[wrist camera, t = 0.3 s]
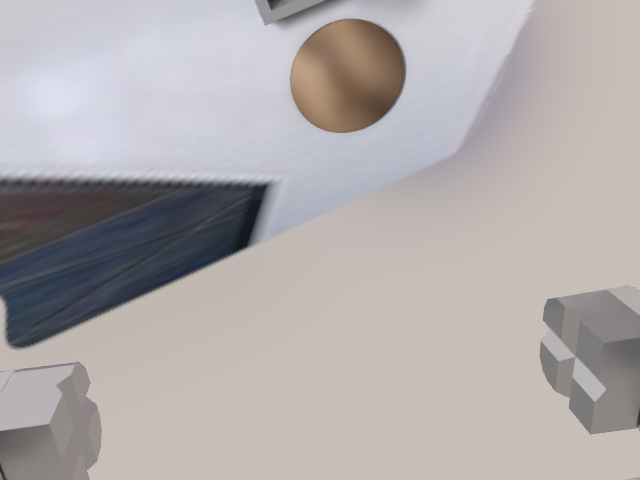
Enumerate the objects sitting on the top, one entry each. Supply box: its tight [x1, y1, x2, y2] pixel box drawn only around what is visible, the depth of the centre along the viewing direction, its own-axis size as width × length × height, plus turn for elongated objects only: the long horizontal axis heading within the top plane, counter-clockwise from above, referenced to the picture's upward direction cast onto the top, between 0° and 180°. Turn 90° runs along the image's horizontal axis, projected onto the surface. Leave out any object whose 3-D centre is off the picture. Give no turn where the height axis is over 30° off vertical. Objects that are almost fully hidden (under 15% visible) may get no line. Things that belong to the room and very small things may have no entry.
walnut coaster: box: [290, 19, 403, 133], centre depth 60 cm, size 12×12×1 cm
